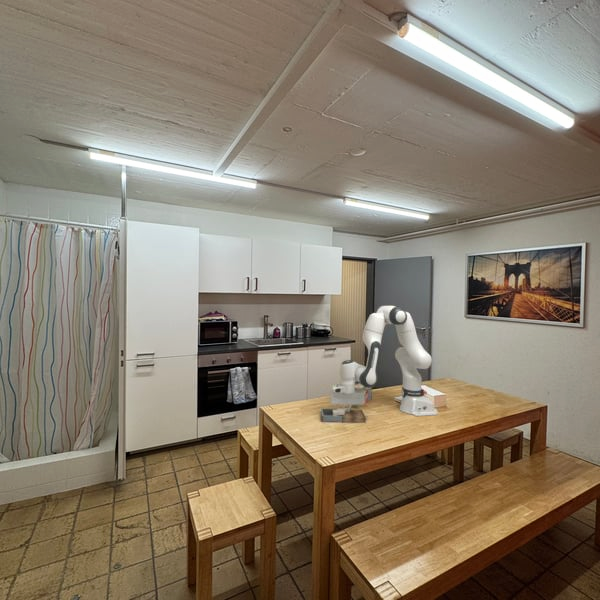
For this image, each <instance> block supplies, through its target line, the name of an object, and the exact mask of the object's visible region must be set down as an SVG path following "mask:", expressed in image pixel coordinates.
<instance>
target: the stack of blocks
mask: <svg viewBox="0 0 600 600" xmlns="http://www.w3.org/2000/svg"><path fill="white" fill-rule="evenodd" d="M355 388H358V389H360V388H362V389H363V390H365V395H364V400H365V403H364V405H365V404H366V403H369V402H370V401H371V400H372V398H373V391H372V390H373V387H370V388H366V387H364V386H363V385H362V384H361V383H360V382H358V383H355ZM362 406H363V405H352V406H351V408H357V409H359V408H361V407H362Z"/></svg>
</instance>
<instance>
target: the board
mask: <svg viewBox="0 0 600 600" xmlns="http://www.w3.org/2000/svg"><path fill="white" fill-rule="evenodd" d="M340 416H342V423H343V424H344V423H345V424H366V423H367V417H366V416H365V413H364V412H363V410H362V409H350V410H349V412H345V414H344V415H340Z"/></svg>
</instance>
